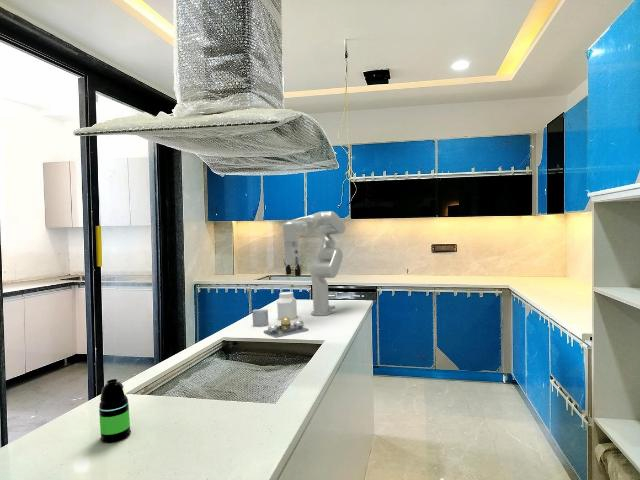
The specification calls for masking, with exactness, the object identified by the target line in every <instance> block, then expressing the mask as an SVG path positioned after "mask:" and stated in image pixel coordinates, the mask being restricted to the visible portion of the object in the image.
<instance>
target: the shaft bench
mask: <svg viewBox="0 0 640 480" xmlns="http://www.w3.org/2000/svg"><path fill="white" fill-rule="evenodd" d="M304 325H305V324H304V321H303V320H299V321H295V322H293V324H292V325H291V328H290V329H285V330H284V331H282V330H281V325H278V324H275V325H271V326H267V330H263V334H265V335H269V336H270V335H271V337H273V338H281V337H285V336H291V335H294V334H295V335H296V334H299V333H304V332H308V331H309V328H308V327H304Z"/></svg>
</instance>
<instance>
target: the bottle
mask: <svg viewBox="0 0 640 480" xmlns="http://www.w3.org/2000/svg"><path fill="white" fill-rule="evenodd" d="M129 405H130V404H129V399H128V397H127V392H126V389H125V386H124V384H122V382H120V381H118V379H117V378H113V379H108V380H107V381H106V384H105V385H104V386H103V387H102V388H101V394H100V402H99V407H98V409H99V411H98V412H99V426H100V427H99V428H100V429H99V430H100V441H101V442H102V443H104V444H112V443H113V444H114V443H119V442H121V441H124V440H126V439H127V438H128V437H129V436H130V435H131V433H132V430H131V422H130V421H131V419H130V406H129Z"/></svg>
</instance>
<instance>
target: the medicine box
mask: <svg viewBox="0 0 640 480" xmlns="http://www.w3.org/2000/svg"><path fill="white" fill-rule="evenodd" d="M251 313H252V326H253V327H268V325H269V324H270V323H269V310H268V308H267V309H266V308H264V309H262V308H261V309H259V308H258V309H253V310H252V312H251Z"/></svg>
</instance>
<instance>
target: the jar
mask: <svg viewBox="0 0 640 480" xmlns="http://www.w3.org/2000/svg"><path fill="white" fill-rule="evenodd" d="M278 295H279V297H278V299H277V301H276V304H277V305H276V309H277V319H278V321H281V318H283V317H290V321H292V320H294V319H297V318H298V309H297V298H295V297H294V292H293V291H283V292H279V294H278Z"/></svg>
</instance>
